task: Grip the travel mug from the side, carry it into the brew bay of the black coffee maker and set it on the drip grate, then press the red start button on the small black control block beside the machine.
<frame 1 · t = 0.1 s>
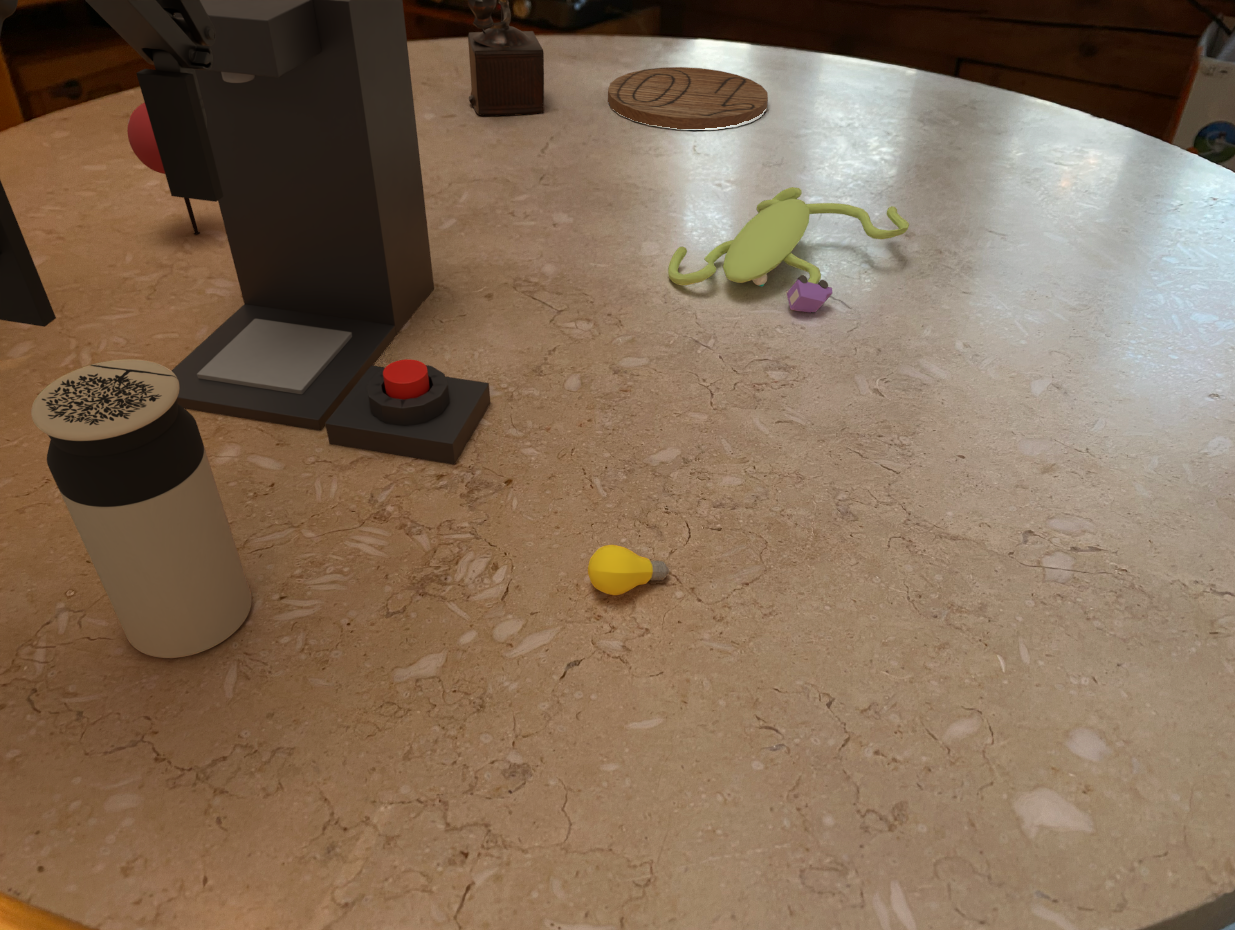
hand: (120, 251, 46), 27 cm above the table, tool pointing down, fingers open, 13 cm apart
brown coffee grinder: (507, 111, 143), on the table
travel mug: (191, 616, 63), on the table
light bulb: (628, 585, 66), on the table
trivet: (687, 104, 148), on the table
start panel: (412, 423, 80), on the table
coffee maker: (280, 368, 87), on the table
figurine: (788, 264, 106), on the table
start button: (406, 379, 78), point 4 cm above the table, slide at 0.1 cm
lollipop: (195, 235, 108), on the table
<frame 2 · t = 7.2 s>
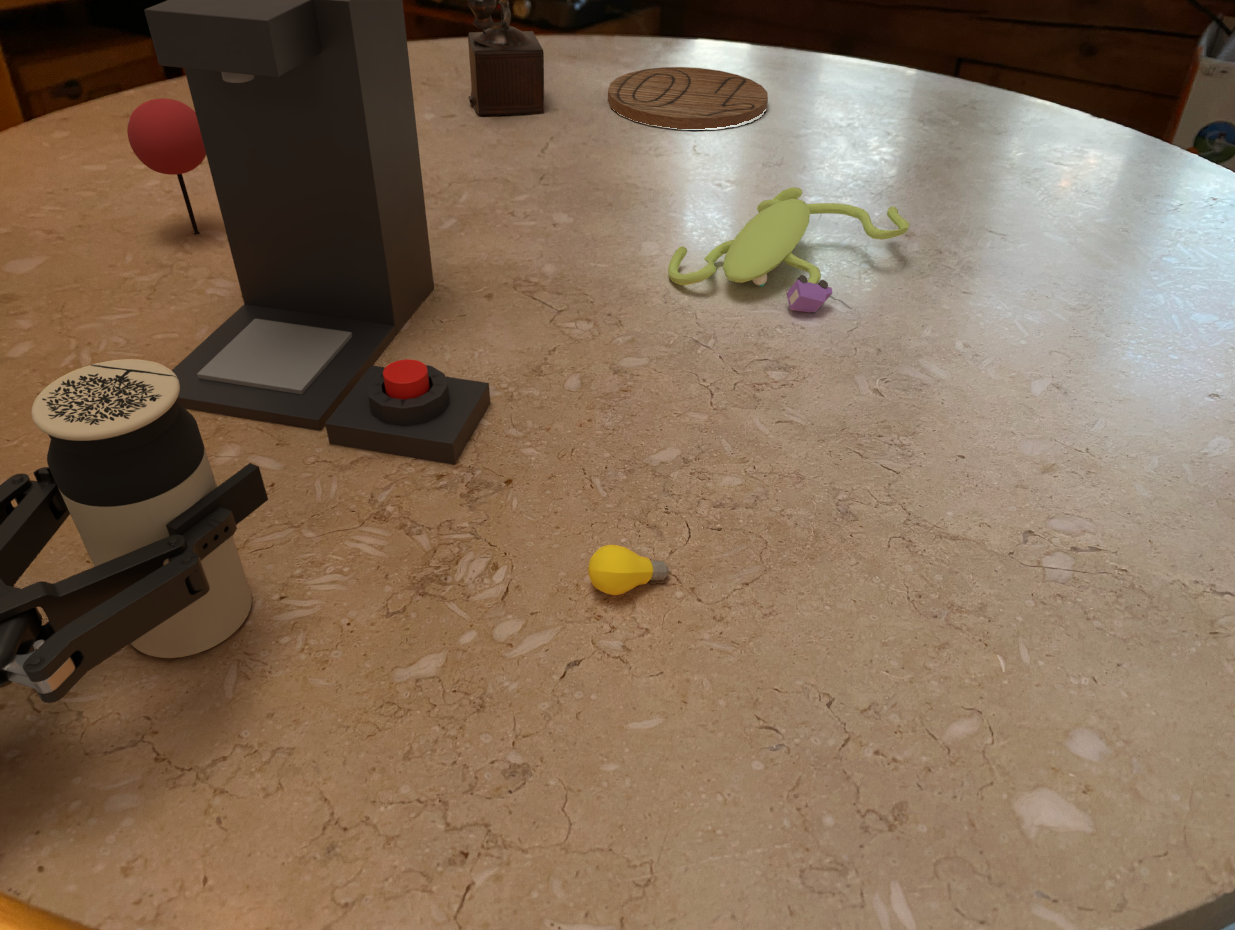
hand: (208, 460, 60), 10 cm above the table, tool horizontal, fingers closed on travel mug, 8 cm apart
travel mug: (191, 616, 63), on the table, touching gripper
everything else where it was.
when the fingers open (12 cm above the table, at t = 15.6 s): travel mug stays where it is, resting on coffee maker.
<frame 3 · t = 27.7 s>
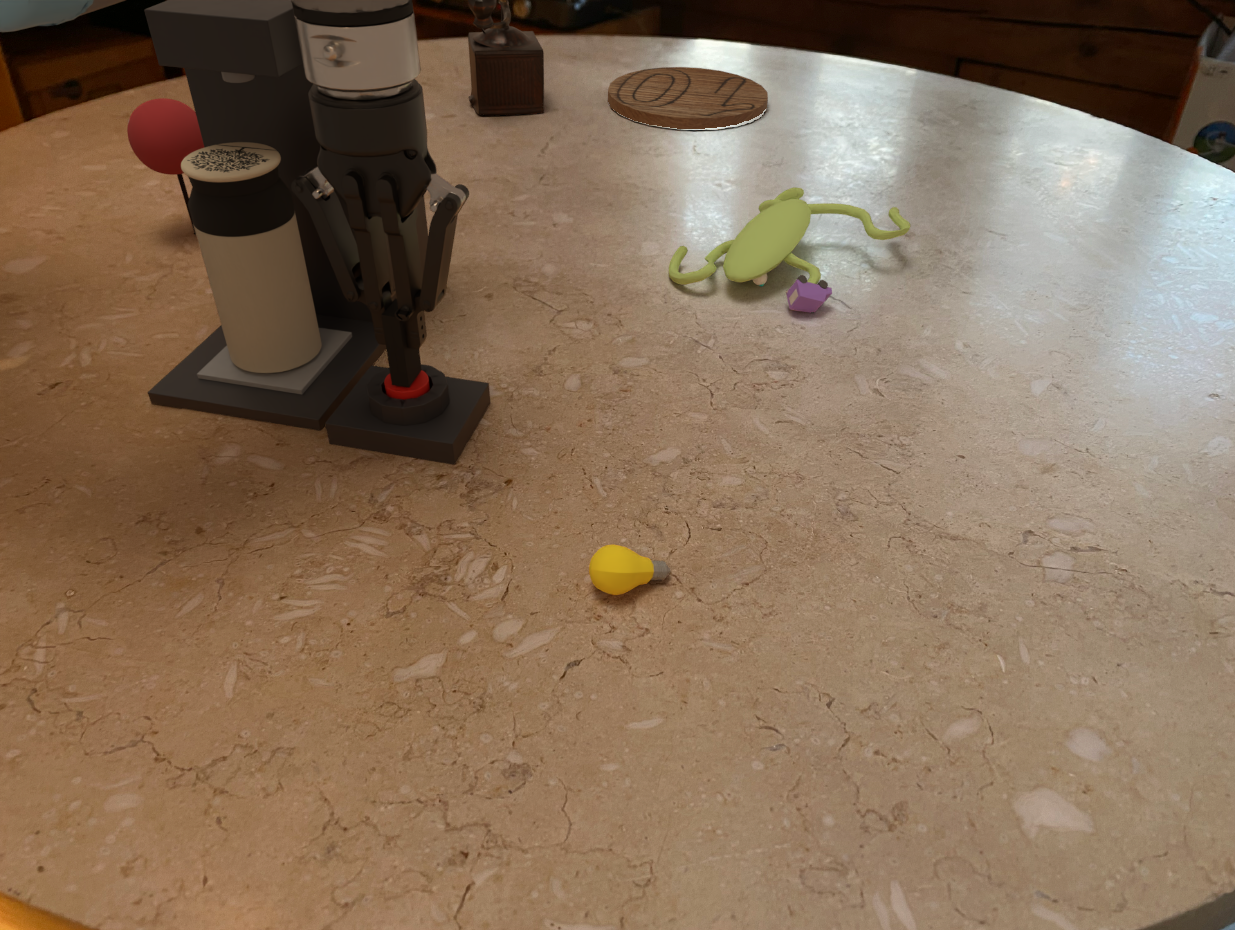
hand: (407, 377, 77), 5 cm above the table, tool pointing down, fingers closed
travel mug: (277, 354, 86), point 2 cm above the table, touching coffee maker
start button: (407, 388, 78), point 4 cm above the table, slide at -0.8 cm, touching gripper
everything else where it was.
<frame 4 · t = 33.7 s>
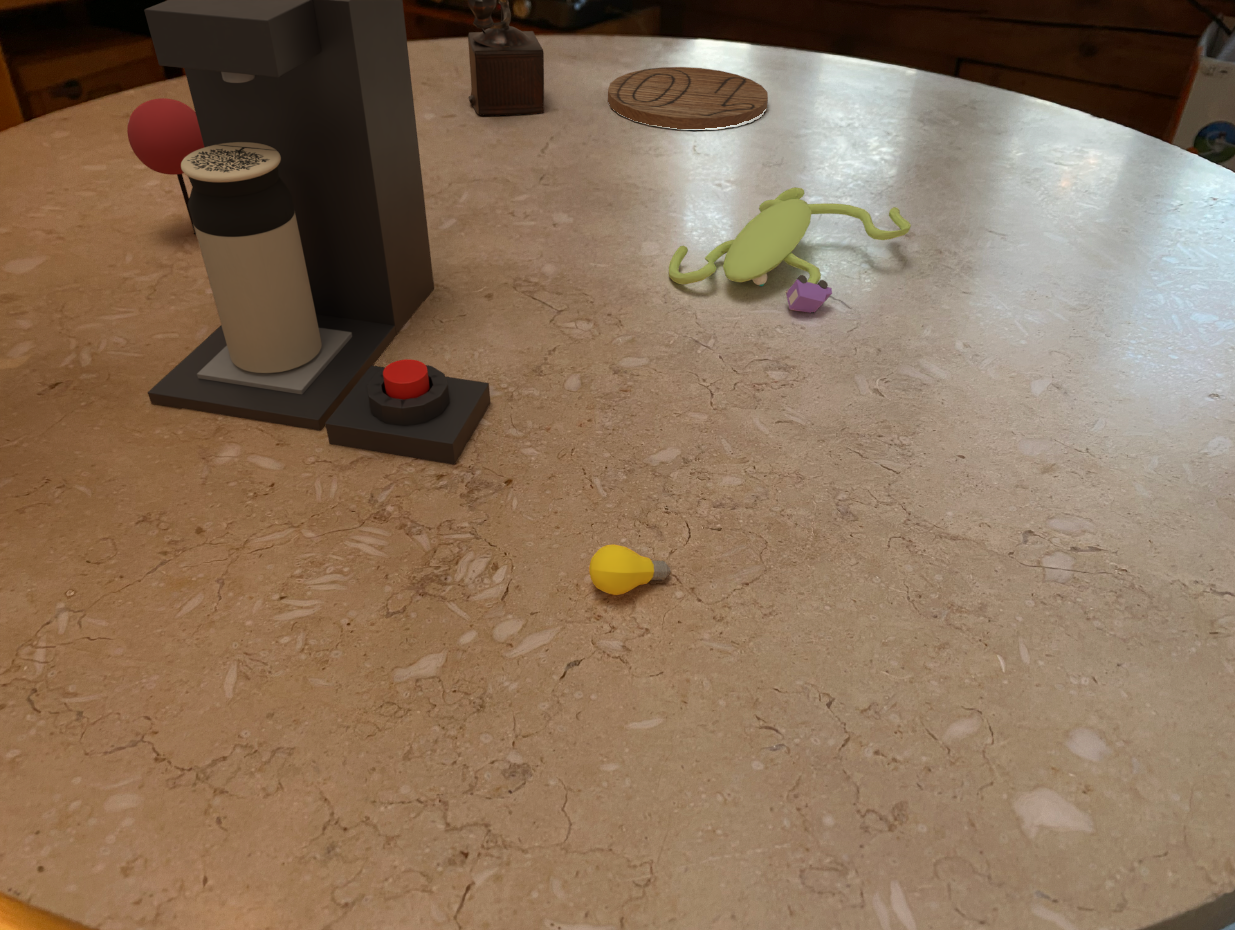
start button: (406, 379, 78), point 4 cm above the table, slide at 0.1 cm
everything else where it was.
at the end: travel mug inside the target area on the coffee maker (0.1 cm from its centre), point 1.5 cm above the coffee maker's base; travel mug tilted 0°; start button pushed in 1.0 cm at the most during the clip, back to where it started at the end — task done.
